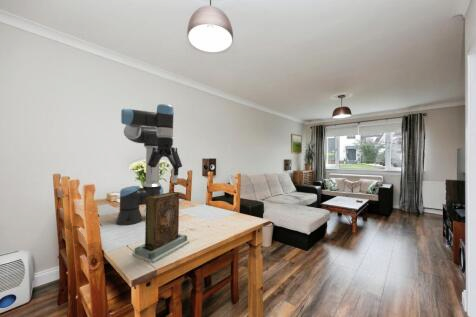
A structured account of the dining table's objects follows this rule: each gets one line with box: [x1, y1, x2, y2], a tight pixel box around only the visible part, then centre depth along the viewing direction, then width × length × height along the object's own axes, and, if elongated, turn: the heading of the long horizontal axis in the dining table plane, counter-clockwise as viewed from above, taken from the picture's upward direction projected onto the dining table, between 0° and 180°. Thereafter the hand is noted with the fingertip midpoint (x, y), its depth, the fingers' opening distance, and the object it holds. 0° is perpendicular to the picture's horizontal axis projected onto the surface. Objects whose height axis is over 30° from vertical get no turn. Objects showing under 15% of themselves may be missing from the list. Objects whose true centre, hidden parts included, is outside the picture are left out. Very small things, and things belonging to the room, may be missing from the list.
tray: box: [131, 233, 190, 264], centre depth 95 cm, size 14×22×3 cm, turn 153°
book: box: [144, 191, 180, 251], centre depth 95 cm, size 16×6×25 cm, turn 154°
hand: (164, 181), depth 95 cm, fingers open, 13 cm apart
